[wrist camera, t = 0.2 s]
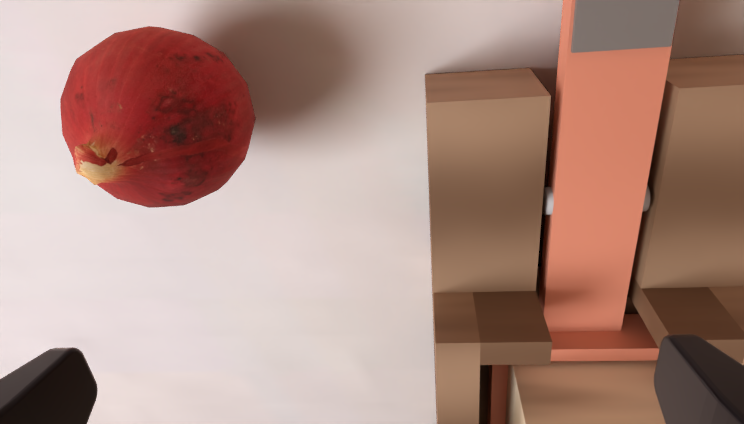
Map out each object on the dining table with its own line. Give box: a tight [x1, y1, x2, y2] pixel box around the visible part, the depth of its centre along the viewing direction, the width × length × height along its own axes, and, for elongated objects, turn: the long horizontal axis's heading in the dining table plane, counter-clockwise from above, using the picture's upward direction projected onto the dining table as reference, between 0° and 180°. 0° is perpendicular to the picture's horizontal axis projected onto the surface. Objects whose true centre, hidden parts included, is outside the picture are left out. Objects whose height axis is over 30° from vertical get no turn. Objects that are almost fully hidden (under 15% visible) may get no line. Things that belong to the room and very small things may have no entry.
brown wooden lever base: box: [425, 55, 744, 424], centre depth 21 cm, size 19×12×6 cm, turn 5°
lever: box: [487, 0, 680, 424], centre depth 20 cm, size 20×7×2 cm, turn 5°
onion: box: [61, 26, 255, 207], centre depth 18 cm, size 6×6×8 cm
